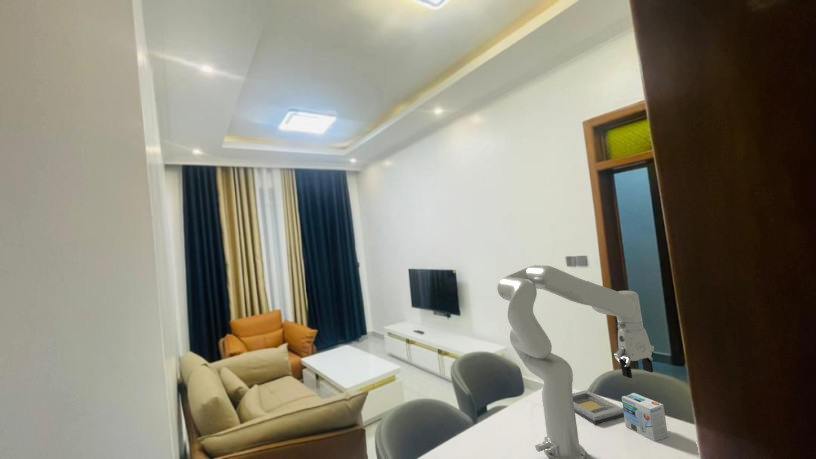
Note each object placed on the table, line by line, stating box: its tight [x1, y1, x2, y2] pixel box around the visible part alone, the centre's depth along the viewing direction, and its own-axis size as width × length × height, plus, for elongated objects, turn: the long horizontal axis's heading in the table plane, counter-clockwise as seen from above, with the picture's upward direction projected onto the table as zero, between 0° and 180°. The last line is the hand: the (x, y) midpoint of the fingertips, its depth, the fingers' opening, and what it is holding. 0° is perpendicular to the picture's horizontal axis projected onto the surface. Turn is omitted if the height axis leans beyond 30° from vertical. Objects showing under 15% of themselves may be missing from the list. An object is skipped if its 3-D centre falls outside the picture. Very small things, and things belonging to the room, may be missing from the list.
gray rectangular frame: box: [572, 389, 624, 426], centre depth 128 cm, size 14×18×3 cm
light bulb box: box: [621, 392, 669, 442], centre depth 111 cm, size 11×7×11 cm, turn 17°
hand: (638, 373), depth 112 cm, fingers open, 9 cm apart
